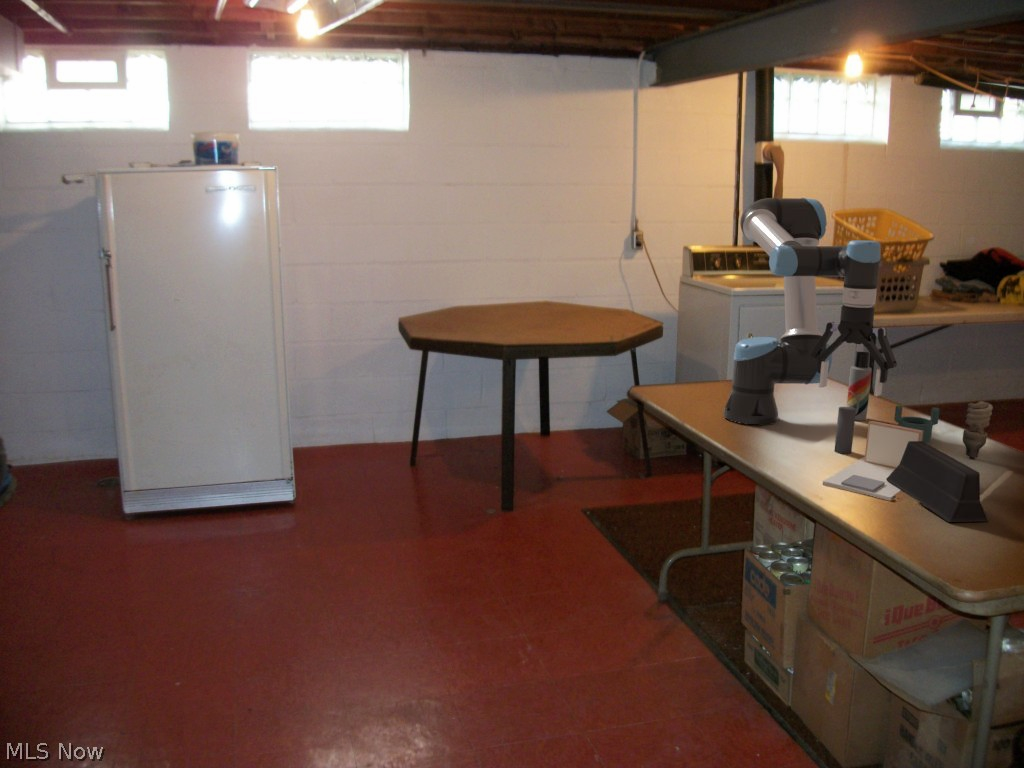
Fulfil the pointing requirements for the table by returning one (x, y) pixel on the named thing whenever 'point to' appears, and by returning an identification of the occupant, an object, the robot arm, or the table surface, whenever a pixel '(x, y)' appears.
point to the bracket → (918, 422)
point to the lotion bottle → (859, 385)
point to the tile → (888, 443)
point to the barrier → (939, 483)
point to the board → (865, 480)
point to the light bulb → (976, 427)
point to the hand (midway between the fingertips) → (849, 390)
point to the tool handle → (845, 430)
